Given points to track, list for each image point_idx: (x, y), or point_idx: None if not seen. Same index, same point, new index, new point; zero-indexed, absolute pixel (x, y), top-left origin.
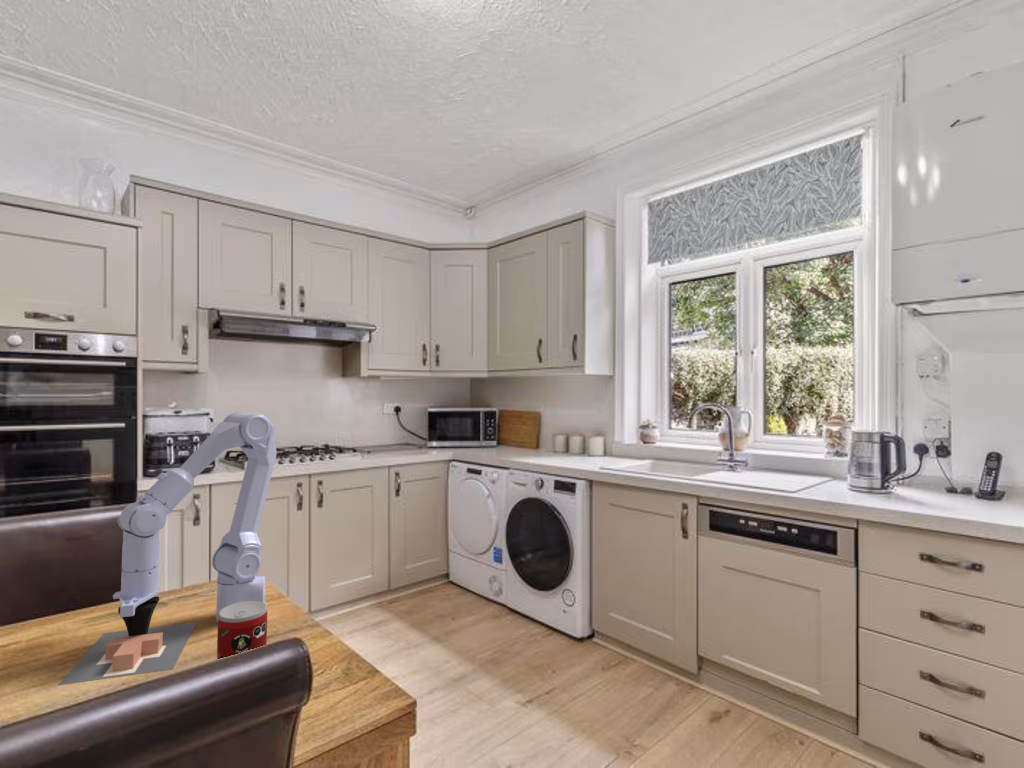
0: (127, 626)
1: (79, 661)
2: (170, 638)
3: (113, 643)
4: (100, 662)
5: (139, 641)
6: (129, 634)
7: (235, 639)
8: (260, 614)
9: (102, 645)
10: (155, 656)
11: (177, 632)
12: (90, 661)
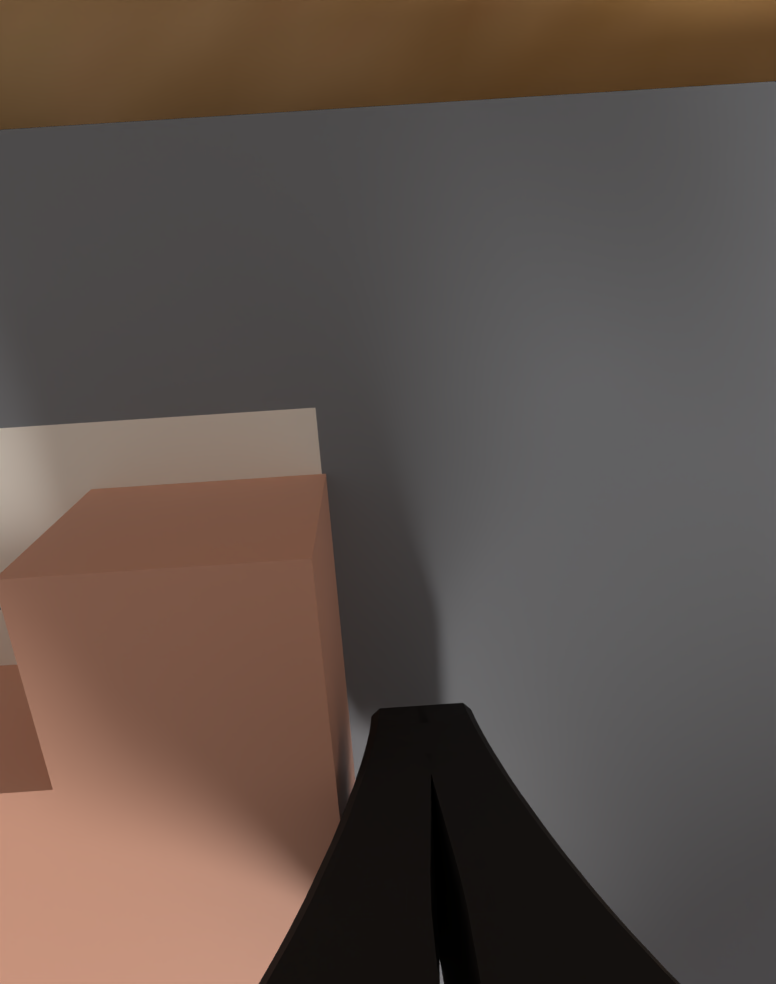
0: (293, 935)
1: (82, 135)
2: None
3: (75, 663)
4: (22, 457)
5: (104, 958)
6: (347, 802)
7: None
8: None
9: (612, 254)
10: None
11: (693, 956)
12: (68, 307)
